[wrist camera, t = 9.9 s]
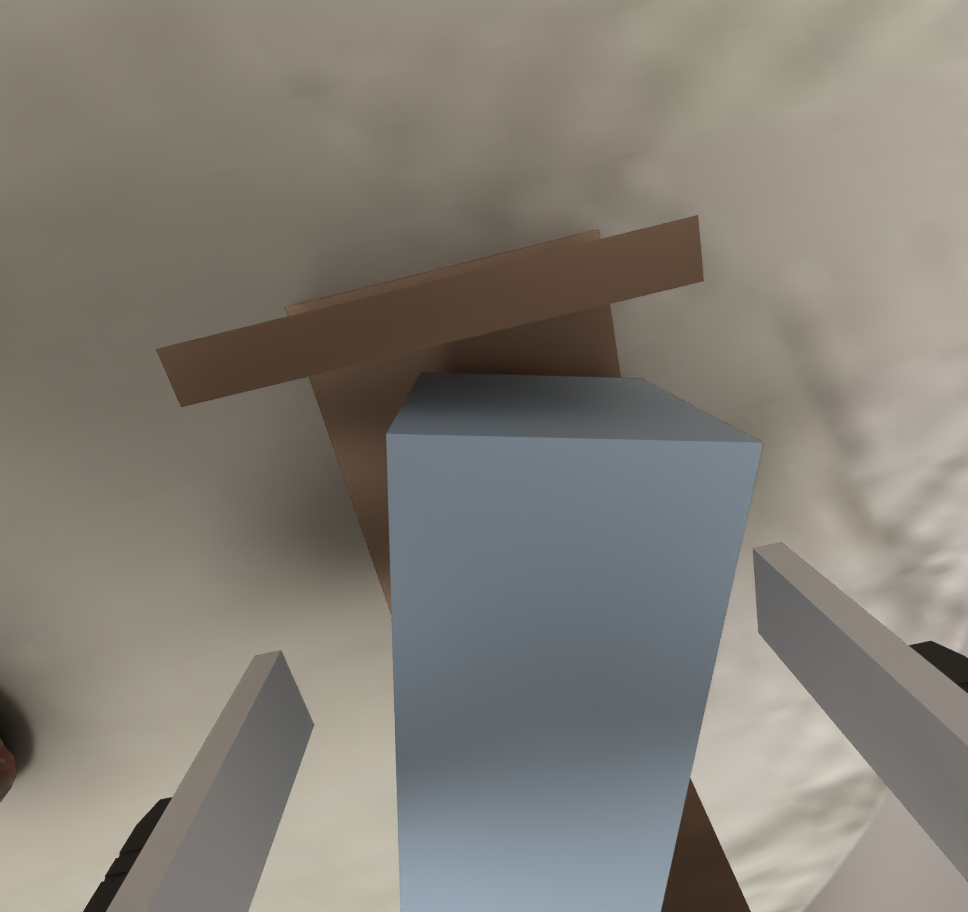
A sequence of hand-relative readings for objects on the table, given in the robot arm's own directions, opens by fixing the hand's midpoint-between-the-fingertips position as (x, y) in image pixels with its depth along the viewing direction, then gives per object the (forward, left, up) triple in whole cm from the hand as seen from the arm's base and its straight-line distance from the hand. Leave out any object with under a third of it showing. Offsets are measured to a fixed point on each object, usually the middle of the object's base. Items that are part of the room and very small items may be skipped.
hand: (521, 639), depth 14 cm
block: (0, 0, -2) cm, 2 cm away
